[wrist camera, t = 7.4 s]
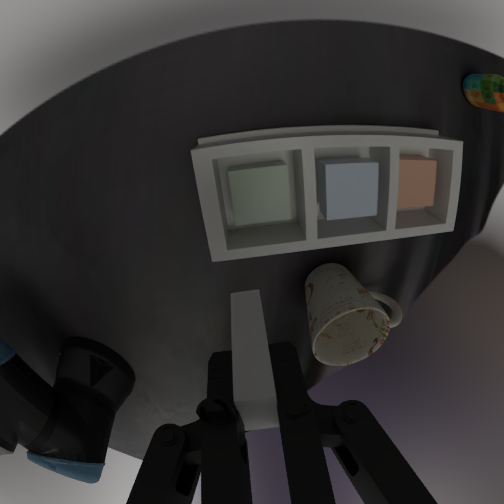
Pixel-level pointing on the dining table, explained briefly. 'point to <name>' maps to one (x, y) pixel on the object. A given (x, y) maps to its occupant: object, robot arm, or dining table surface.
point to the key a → (260, 192)
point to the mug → (345, 316)
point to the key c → (416, 181)
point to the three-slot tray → (307, 186)
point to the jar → (485, 91)
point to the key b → (348, 187)
